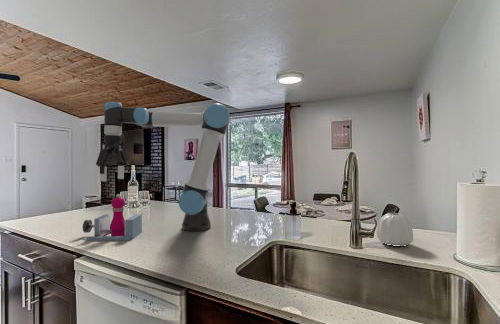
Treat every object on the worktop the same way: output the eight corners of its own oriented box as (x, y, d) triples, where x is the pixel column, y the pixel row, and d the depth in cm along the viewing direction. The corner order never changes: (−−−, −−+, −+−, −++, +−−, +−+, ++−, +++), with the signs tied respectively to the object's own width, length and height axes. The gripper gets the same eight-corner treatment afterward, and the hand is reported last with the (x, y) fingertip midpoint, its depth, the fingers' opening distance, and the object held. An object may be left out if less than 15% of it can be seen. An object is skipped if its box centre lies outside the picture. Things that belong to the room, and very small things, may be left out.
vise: (142, 231, 139) (142, 213, 139) (131, 240, 124) (131, 220, 124) (102, 231, 138) (102, 214, 138) (86, 240, 123) (86, 220, 123)
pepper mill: (119, 238, 127) (119, 195, 127) (106, 237, 128) (106, 194, 128) (129, 234, 134) (129, 193, 134) (116, 233, 136) (116, 193, 135)
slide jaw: (110, 232, 136) (110, 214, 136) (100, 238, 126) (100, 218, 126) (91, 232, 136) (91, 214, 136) (80, 238, 126) (80, 219, 126)
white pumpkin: (370, 241, 123) (370, 211, 123) (393, 238, 128) (393, 209, 128) (396, 251, 110) (396, 218, 110) (420, 247, 115) (421, 215, 115)
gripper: (120, 137, 143) (120, 177, 144) (87, 132, 119) (86, 181, 119) (134, 137, 143) (133, 178, 143) (103, 132, 118) (102, 182, 118)
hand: (112, 180), depth 131 cm, fingers open, 13 cm apart
